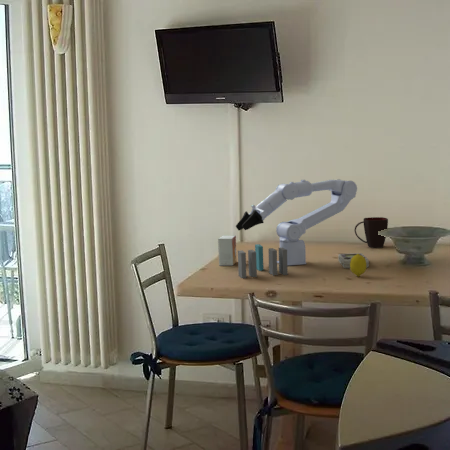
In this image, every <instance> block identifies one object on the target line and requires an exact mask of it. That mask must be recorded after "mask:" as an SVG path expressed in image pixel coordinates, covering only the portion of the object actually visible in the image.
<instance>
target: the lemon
mask: <svg viewBox="0 0 450 450" xmlns="http://www.w3.org/2000/svg"><path fill="white" fill-rule="evenodd" d="M349 269H350V271H351V273H352V274H353V275H355V276H356V277H361V275H364V273H365V272H366V270H367V268H366V260H365V258H364V257H363V256H362V255H360V254H357V255H355V256H353V257H352V259H351V262H350V268H349Z"/></svg>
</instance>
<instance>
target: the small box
mask: <svg viewBox="0 0 450 450" xmlns="http://www.w3.org/2000/svg"><path fill="white" fill-rule="evenodd" d="M217 244H218V265H219V266H234V265H235V264H236V263H238V260H237V236H236V235H221V236H220V237H219V238H217Z"/></svg>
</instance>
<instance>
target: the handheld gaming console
mask: <svg viewBox="0 0 450 450" xmlns="http://www.w3.org/2000/svg"><path fill="white" fill-rule="evenodd" d="M357 254H360V255H362V256H363V257H364V258H365V260H366V269H367V268H369V266H370V261H369V258H367V256H366V255H365V254H363V253H362V252H360V253H359V252H356V253H355V252H354V253H353V252H352V253H350V252H349V253H338V254H337V255H338V256H337V257H338V258H337V259H338V262H339V263H340V265H341V266H342V267H343V268H344V269H350V262H351V259H352V257H353V256H355V255H357Z"/></svg>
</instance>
